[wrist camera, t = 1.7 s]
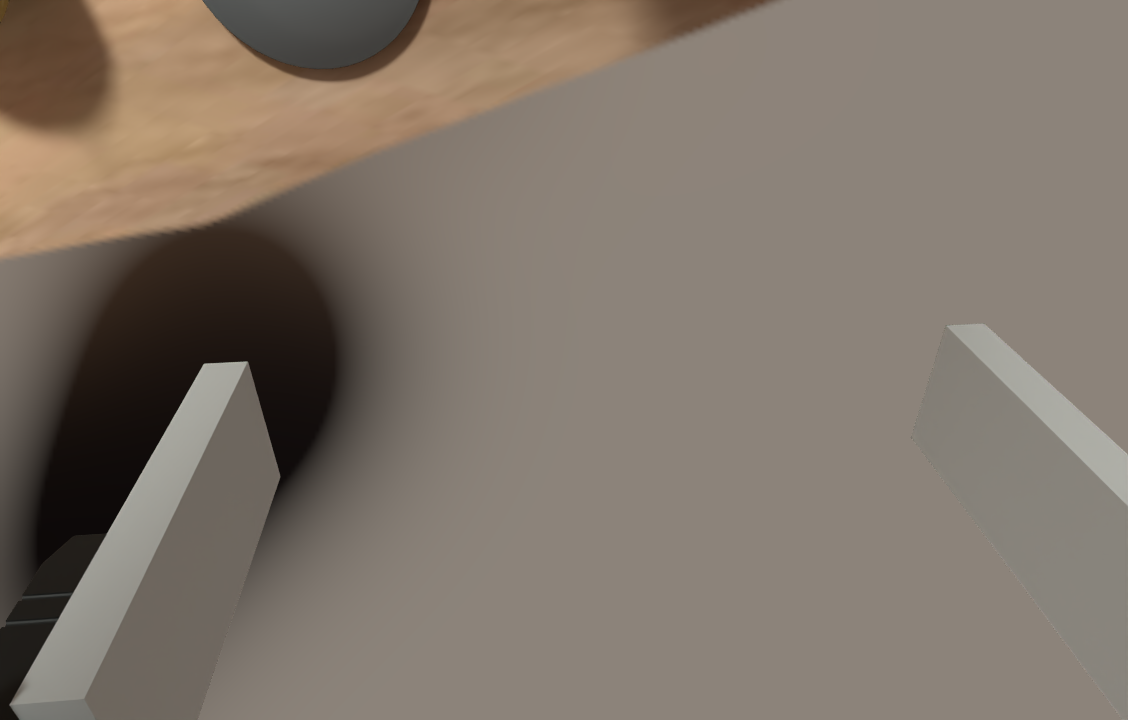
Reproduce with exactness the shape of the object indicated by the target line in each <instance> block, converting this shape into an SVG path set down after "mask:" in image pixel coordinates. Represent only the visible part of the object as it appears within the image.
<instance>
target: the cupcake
mask: <svg viewBox="0 0 1128 720" xmlns="http://www.w3.org/2000/svg"><path fill="white" fill-rule="evenodd" d="M8 2H9V0H0V23H1V21H2V19H3V17H4V15H5V12H6V9H7V6H8Z"/></svg>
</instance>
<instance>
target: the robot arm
mask: <svg viewBox="0 0 1128 720" xmlns="http://www.w3.org/2000/svg"><path fill="white" fill-rule="evenodd" d="M911 438H912V439H913V441H914V442H915V443H916V445H917V446H918V447H919V449H920V450H921V451H922V453H923V454H924V455H925V457H926V458H927V459H928V461H929V462H930V463H931V465H932V466H933V467H934V469H935V470H936V471H937V473H938V474H939V475H940V477H941V478H942V479H943V481H944V482H945V483H946V485H947V486H948V487H949V489H950V490H951V491H952V493H953V494H954V495H955V497H956V498H957V500H958V501H959V502H960V504H961V505H962V506H963V508H964V509H965V510H966V511H967V513H968V514H969V516H970V517H971V518H972V520H973V521H974V522H975V524H976V525H977V526H978V528H979V529H980V530H981V531H982V533H983V534H984V535H985V537H986V538H987V540H988V541H989V542H990V544H991V545H992V546H993V548H994V549H995V550H996V551H997V553H998V554H999V556H1000V557H1001V558H1002V560H1003V561H1004V562H1005V564H1006V565H1007V566H1008V568H1009V569H1010V570H1011V572H1012V573H1013V574H1014V576H1015V577H1016V578H1017V580H1018V581H1019V582H1020V584H1021V585H1022V586H1023V588H1024V589H1025V590H1026V592H1027V593H1028V594H1029V596H1030V597H1031V599H1032V600H1033V601H1034V603H1035V604H1036V605H1037V606H1038V608H1039V609H1040V611H1041V612H1042V613H1043V614H1044V616H1045V617H1046V619H1047V620H1048V621H1049V623H1050V624H1051V625H1052V627H1053V628H1054V629H1055V630H1056V632H1057V633H1058V635H1059V636H1060V637H1061V639H1062V640H1063V641H1064V643H1065V644H1066V645H1067V647H1068V648H1069V649H1070V651H1071V652H1072V653H1073V655H1074V656H1075V657H1076V659H1077V660H1078V661H1079V663H1080V664H1081V665H1082V667H1083V668H1084V669H1085V671H1086V672H1087V673H1088V675H1089V676H1090V677H1091V679H1092V680H1093V681H1094V683H1095V684H1096V685H1097V687H1098V688H1099V689H1100V691H1101V692H1102V694H1103V695H1104V696H1105V698H1106V699H1107V700H1108V702H1109V703H1110V704H1111V706H1112V707H1113V708H1114V710H1115V711H1116V712H1117V714H1118V715H1119V716H1120V717H1121V719H1122V720H1128V454H1127V453H1125V452H1124V451H1123V450H1122V449H1121V448H1120V447H1119V446H1118V445H1117V444H1116V443H1114V442H1113V441H1112V440H1111V439H1110V438H1109V437H1108V436H1107V435H1106V434H1105V433H1104V432H1102V431H1101V430H1100V429H1099V428H1098V427H1097V426H1096V425H1095V424H1094V423H1092V422H1091V421H1090V420H1089V419H1088V418H1087V417H1086V416H1085V415H1084V414H1083V413H1082V412H1081V411H1079V410H1078V409H1077V408H1076V407H1075V406H1074V405H1073V404H1072V403H1071V402H1069V401H1068V400H1067V399H1066V398H1065V397H1064V396H1063V395H1062V394H1061V393H1060V392H1059V391H1057V390H1056V389H1055V388H1054V387H1053V386H1052V385H1051V384H1050V383H1049V382H1048V381H1047V380H1045V379H1044V378H1043V377H1042V376H1041V375H1040V374H1039V373H1038V372H1037V371H1036V370H1034V369H1033V368H1032V367H1031V366H1030V365H1029V364H1028V363H1027V362H1026V361H1025V360H1024V359H1022V358H1021V357H1020V356H1019V355H1018V354H1017V353H1016V352H1015V351H1014V350H1013V349H1011V348H1010V347H1009V346H1008V345H1007V344H1006V343H1005V342H1004V341H1003V340H1002V339H1000V338H999V337H998V336H997V335H996V334H995V333H994V332H993V331H992V330H991V329H990V328H988V327H987V326H986V325H985V324H964V325H946V327H945V330H944V333H943V337H942V340H941V343H940V346H939V349H938V353H937V356H936V359H935V362H934V365H933V368H932V372H931V375H930V378H929V381H928V385H927V388H926V391H925V394H924V398H923V401H922V404H921V407H920V410H919V414H918V416H917V420H916V423H915V426H914V429H913V433H912V436H911ZM279 479H280V474H279V470H278V467H277V463H276V460H275V456H274V453H273V449H272V446H271V442H270V439H269V435H268V431H267V428H266V424H265V421H264V418H263V414H262V411H261V407H260V403H259V400H258V396H257V393H256V389H255V386H254V383H253V379H252V375H251V372H250V368H249V364H248V362H232V363H215V364H214V363H212V364H204V365H203V367H202V369H201V371H200V372H199V374H198V376H197V377H196V379H195V381H194V383H193V384H192V386H191V388H190V390H189V391H188V393H187V395H186V397H185V399H184V400H183V402H182V404H181V405H180V407H179V409H178V411H177V412H176V414H175V416H174V418H173V420H172V421H171V423H170V425H169V427H168V428H167V430H166V432H165V434H164V435H163V437H162V439H161V440H160V442H159V444H158V446H157V447H156V449H155V451H154V453H153V454H152V456H151V458H150V460H149V461H148V463H147V465H146V467H145V468H144V470H143V472H142V474H141V475H140V477H139V479H138V481H137V482H136V484H135V486H134V488H133V490H132V491H131V493H130V495H129V497H128V498H127V500H126V502H125V503H124V505H123V507H122V509H121V511H120V512H119V514H118V516H117V518H116V519H115V521H114V523H113V525H112V526H111V528H110V530H109V531H108V533H107V534H95V535H82V536H81V535H80V536H73V537H72V538H71V539H70V540H69V541H68V542H67V543H65V544H64V545H63V546H62V547H61V548H60V549H59V550H58V551H56V552H55V553H54V554H53V555H52V556H51V557H49V558H48V559H47V560H46V561H45V562H44V563H43V564H42V565H41V567H40V568H39V570H38V571H37V573H36V575H35V576H34V578H33V579H32V581H31V582H30V584H29V585H28V587H27V589H26V590H25V592H24V593H23V599H22V601H18V603H17V604H16V606H15V607H14V609H13V610H12V612H11V613H10V615H9V617H8V618H7V620H6V626H5V627H2V628H1V629H0V720H198V717H199V714H200V711H201V708H202V705H203V702H204V699H205V696H206V693H207V690H208V688H209V685H210V682H211V679H212V676H213V673H214V670H215V667H216V664H217V661H218V658H219V655H220V652H221V649H222V646H223V643H224V640H225V637H226V634H227V631H228V629H229V626H230V623H231V620H232V617H233V614H234V611H235V608H236V605H237V602H238V599H239V596H240V593H241V590H242V588H243V585H244V582H245V579H246V576H247V573H248V570H249V567H250V564H251V561H252V558H253V555H254V552H255V549H256V546H257V543H258V540H259V538H260V534H261V532H262V529H263V526H264V523H265V520H266V517H267V514H268V511H269V508H270V505H271V502H272V499H273V496H274V493H275V490H276V488H277V484H278V481H279Z"/></svg>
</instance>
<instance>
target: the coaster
mask: <svg viewBox="0 0 1128 720" xmlns="http://www.w3.org/2000/svg"><path fill="white" fill-rule="evenodd" d="M418 1H419V0H203V2H204V3H205V4H206V6H207V7H208V8H209V9H210V11H211V12H212V13H213V14H214V16H215V17H216V18H217V19H218V20H219V21H220V22H221V23H222V24H223V25H224V26H225V27H226V28H227V29H228V30H229V31H230V32H231V33H233V34H234V35H235V36H236V37H238V38H239V39H240V40H241V41H243V42H244V43H246V44H247V45H249V46H250V47H252V48H253V49H255V50H256V51H258V52H260V53H262V54H264V55H266V56H268V57H270V58H272V59H275V60H278V61H281V62H283V63H286V64H290V65H294V66H298V67H303V68H313V69H332V68H338V67H344V66H349V65H352V64H355V63H358V62H361V61H363V60H365V59H367V58H369V57H371V56H373V55H375V54H376V53H378V52H379V51H381V50H382V49H384V48H385V47H386V46H387V45H388V44H390V43H391V42H392V41H393V40H394V39H395V38H396V37H397V36H398V34H399V33H400V32H401V31H402V29H403V28H404V27H405V26H406V24H407V23H408V21H409V19H410V17H411V16H412V14H413V12H414V10H415V8H416V6H417V3H418Z"/></svg>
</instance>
